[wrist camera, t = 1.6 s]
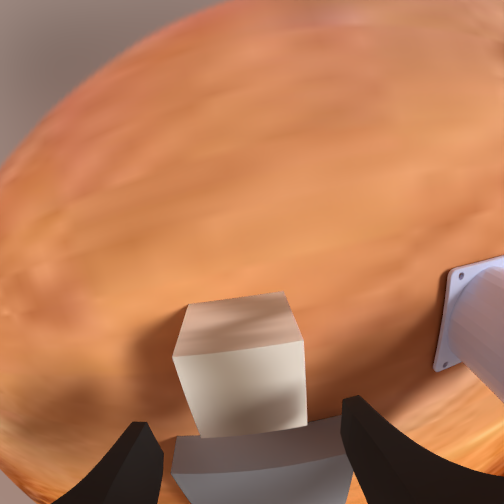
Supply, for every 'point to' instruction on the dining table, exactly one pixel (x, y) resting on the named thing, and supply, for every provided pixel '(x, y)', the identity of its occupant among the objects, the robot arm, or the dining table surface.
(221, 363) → the birch block
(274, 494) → the charcoal box
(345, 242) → the dining table surface
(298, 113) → the dining table surface
